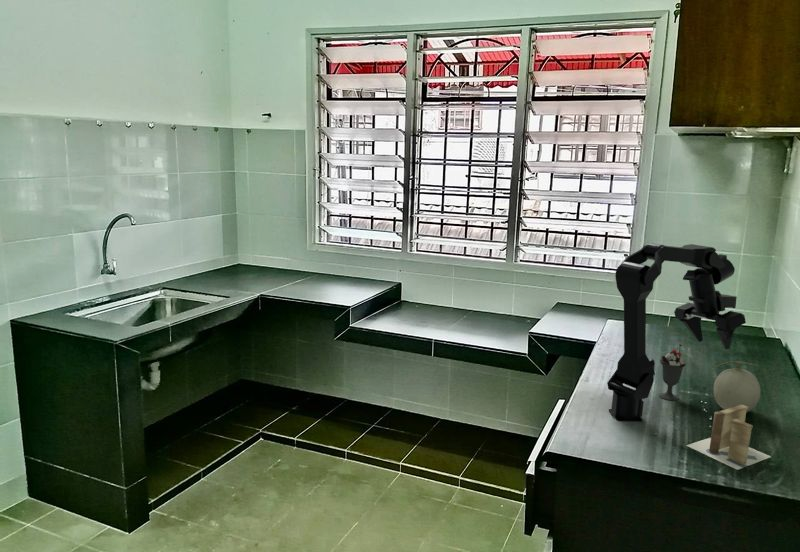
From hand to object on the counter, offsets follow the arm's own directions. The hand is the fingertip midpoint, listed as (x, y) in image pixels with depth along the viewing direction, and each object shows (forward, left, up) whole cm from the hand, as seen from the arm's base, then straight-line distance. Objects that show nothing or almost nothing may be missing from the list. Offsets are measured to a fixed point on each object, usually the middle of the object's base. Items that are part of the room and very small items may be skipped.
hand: (713, 345), depth 161 cm
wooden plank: (-12, -34, -15) cm, 39 cm away
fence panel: (-9, -29, -15) cm, 34 cm away
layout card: (-10, -31, -16) cm, 36 cm away
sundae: (-10, +1, -16) cm, 19 cm away
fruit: (+3, -7, -16) cm, 18 cm away
